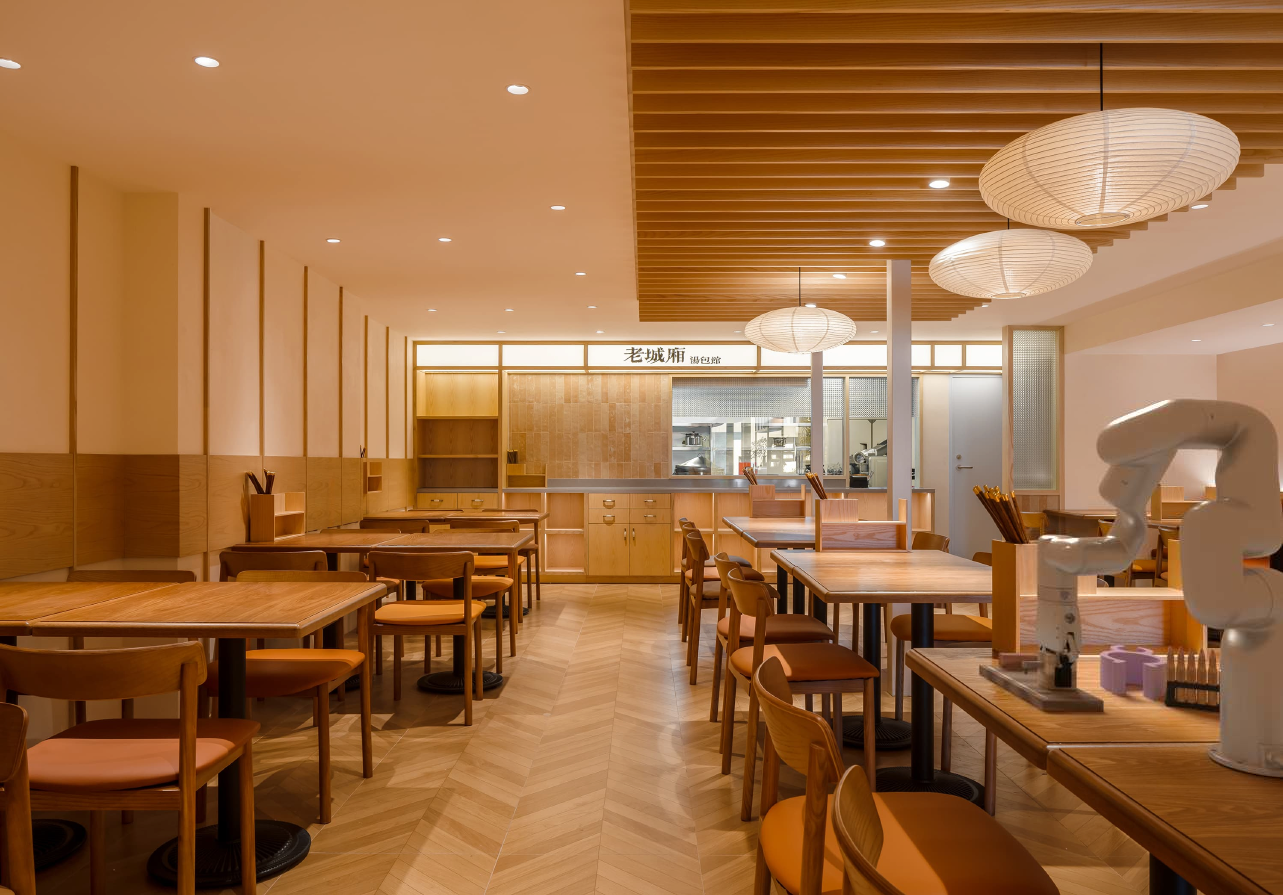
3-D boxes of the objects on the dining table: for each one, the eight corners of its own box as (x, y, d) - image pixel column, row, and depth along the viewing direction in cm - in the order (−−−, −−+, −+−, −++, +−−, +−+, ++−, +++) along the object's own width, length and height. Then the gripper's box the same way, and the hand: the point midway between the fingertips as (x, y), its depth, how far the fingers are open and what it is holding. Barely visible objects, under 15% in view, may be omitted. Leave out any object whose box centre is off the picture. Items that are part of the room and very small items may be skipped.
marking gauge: (1076, 689, 167) (1076, 655, 167) (1028, 689, 167) (1028, 654, 167) (1065, 684, 171) (1065, 650, 171) (1018, 683, 171) (1018, 650, 171)
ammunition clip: (1165, 706, 164) (1165, 645, 164) (1164, 703, 165) (1164, 644, 166) (1230, 713, 159) (1230, 651, 159) (1228, 711, 161) (1228, 649, 161)
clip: (1099, 673, 190) (1099, 643, 190) (1163, 680, 184) (1163, 649, 184) (1100, 693, 173) (1100, 660, 173) (1170, 702, 167) (1170, 668, 167)
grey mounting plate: (1103, 711, 160) (1103, 685, 160) (1043, 710, 159) (1043, 684, 159) (1030, 674, 188) (1030, 652, 188) (979, 673, 187) (979, 651, 187)
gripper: (1098, 601, 161) (1098, 695, 161) (1053, 588, 178) (1052, 673, 178) (1061, 601, 161) (1061, 695, 161) (1019, 588, 178) (1018, 673, 177)
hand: (1056, 682), depth 169 cm, fingers closed on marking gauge, 4 cm apart
